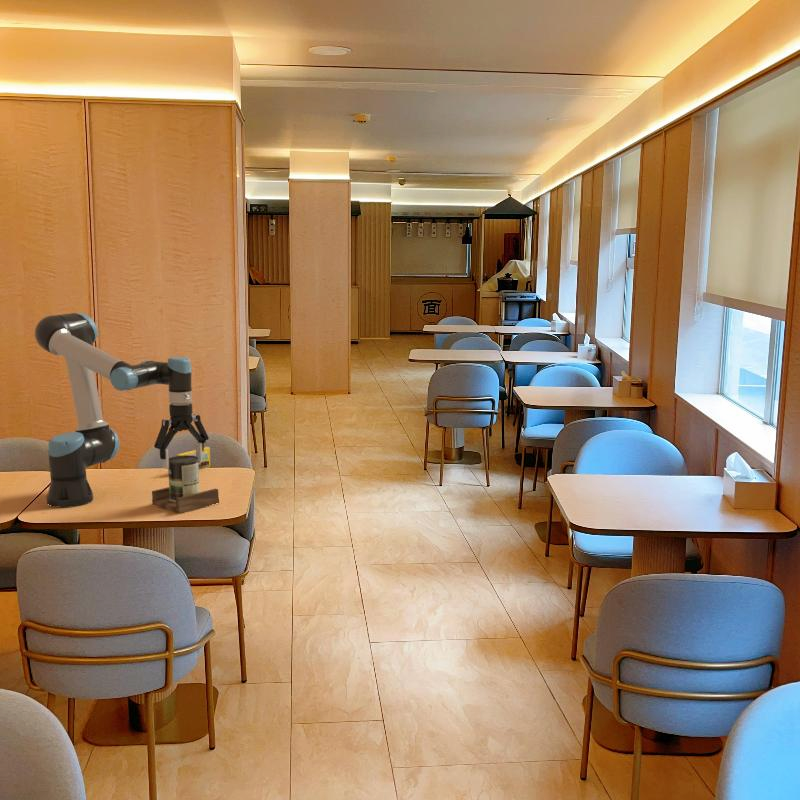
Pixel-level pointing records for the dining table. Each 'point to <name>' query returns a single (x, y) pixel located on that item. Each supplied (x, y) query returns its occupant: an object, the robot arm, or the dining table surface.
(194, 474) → the coffee can
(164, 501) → the stand
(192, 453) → the candy box
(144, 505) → the dining table surface
